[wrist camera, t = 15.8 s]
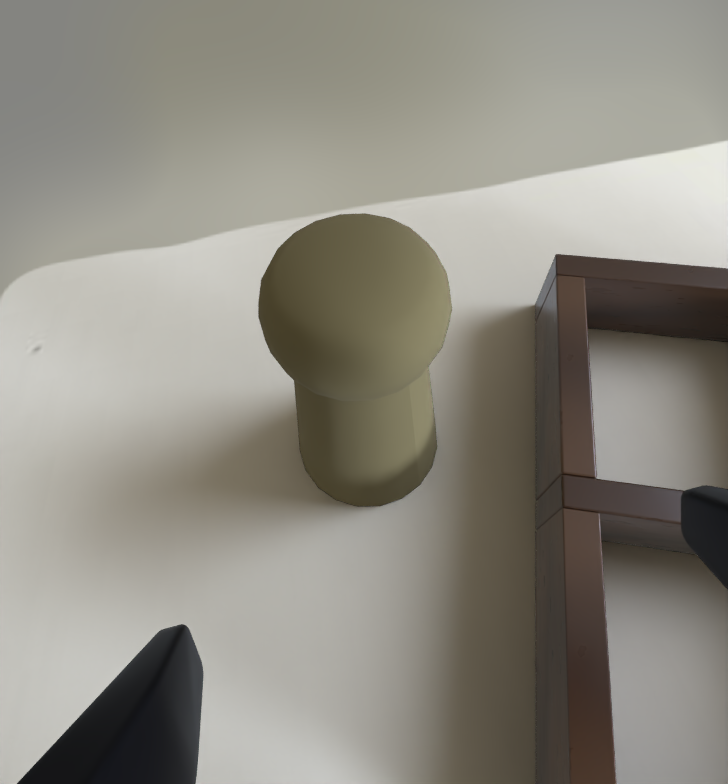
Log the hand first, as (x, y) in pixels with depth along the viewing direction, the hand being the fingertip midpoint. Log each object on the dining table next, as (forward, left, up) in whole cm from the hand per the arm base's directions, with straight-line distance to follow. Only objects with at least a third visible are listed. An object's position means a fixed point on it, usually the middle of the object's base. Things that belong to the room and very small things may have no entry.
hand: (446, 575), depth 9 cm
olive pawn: (+3, +7, -11) cm, 13 cm away
